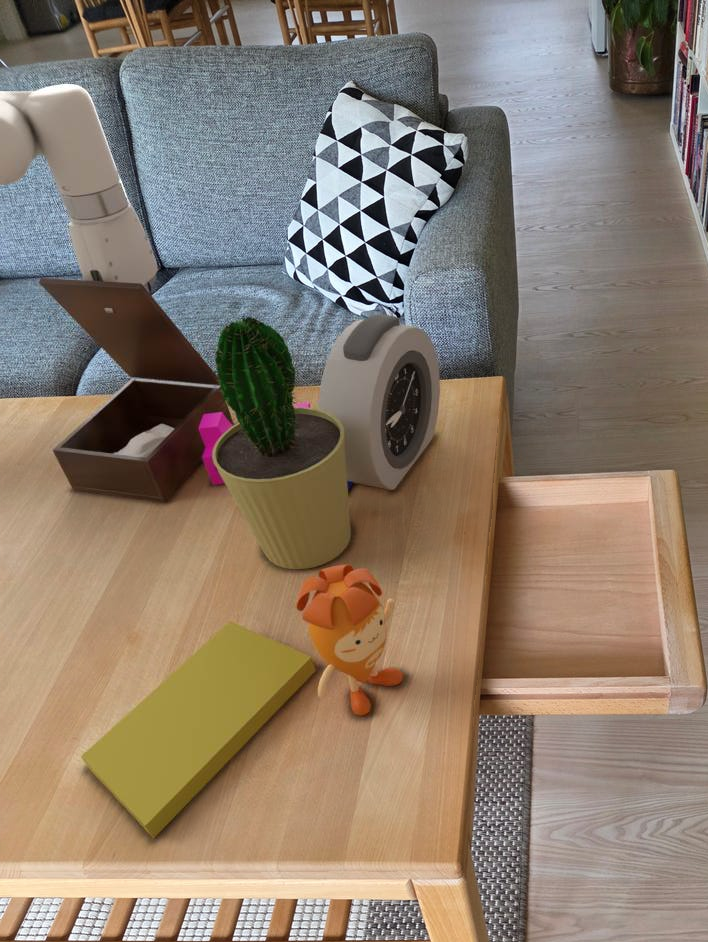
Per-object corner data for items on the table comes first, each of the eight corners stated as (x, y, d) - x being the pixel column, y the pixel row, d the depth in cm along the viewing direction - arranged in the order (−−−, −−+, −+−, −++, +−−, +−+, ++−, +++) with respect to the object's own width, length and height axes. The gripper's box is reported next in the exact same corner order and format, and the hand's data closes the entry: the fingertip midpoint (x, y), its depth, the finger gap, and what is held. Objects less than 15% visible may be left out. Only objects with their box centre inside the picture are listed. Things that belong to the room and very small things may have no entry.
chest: (165, 503, 120) (147, 461, 115) (73, 490, 124) (52, 449, 119) (234, 426, 133) (221, 385, 128) (148, 417, 137) (132, 377, 132)
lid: (139, 288, 108) (141, 283, 109) (38, 282, 113) (40, 277, 113) (219, 385, 127) (221, 380, 128) (130, 377, 132) (132, 372, 132)
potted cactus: (333, 590, 104) (267, 358, 83) (225, 569, 109) (135, 344, 87) (387, 513, 114) (339, 287, 92) (285, 496, 118) (217, 278, 97)
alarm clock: (380, 508, 115) (357, 371, 100) (330, 497, 117) (301, 361, 102) (444, 422, 128) (432, 291, 113) (398, 414, 130) (381, 284, 116)
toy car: (102, 475, 125) (92, 455, 122) (167, 434, 131) (160, 415, 129) (124, 486, 122) (115, 466, 120) (190, 444, 128) (183, 424, 126)
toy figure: (351, 739, 88) (318, 636, 77) (299, 705, 92) (260, 602, 81) (428, 668, 94) (408, 562, 83) (376, 638, 98) (350, 534, 87)
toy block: (212, 484, 122) (194, 438, 117) (220, 459, 126) (203, 414, 121) (317, 473, 121) (303, 426, 116) (322, 448, 125) (309, 402, 120)
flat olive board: (235, 634, 100) (70, 786, 87) (230, 620, 99) (61, 774, 85) (315, 670, 95) (153, 838, 82) (311, 656, 93) (145, 826, 80)
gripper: (105, 179, 116) (154, 312, 129) (34, 223, 106) (95, 362, 119) (153, 180, 114) (198, 315, 127) (85, 225, 104) (142, 366, 117)
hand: (148, 337), depth 123 cm, fingers closed
